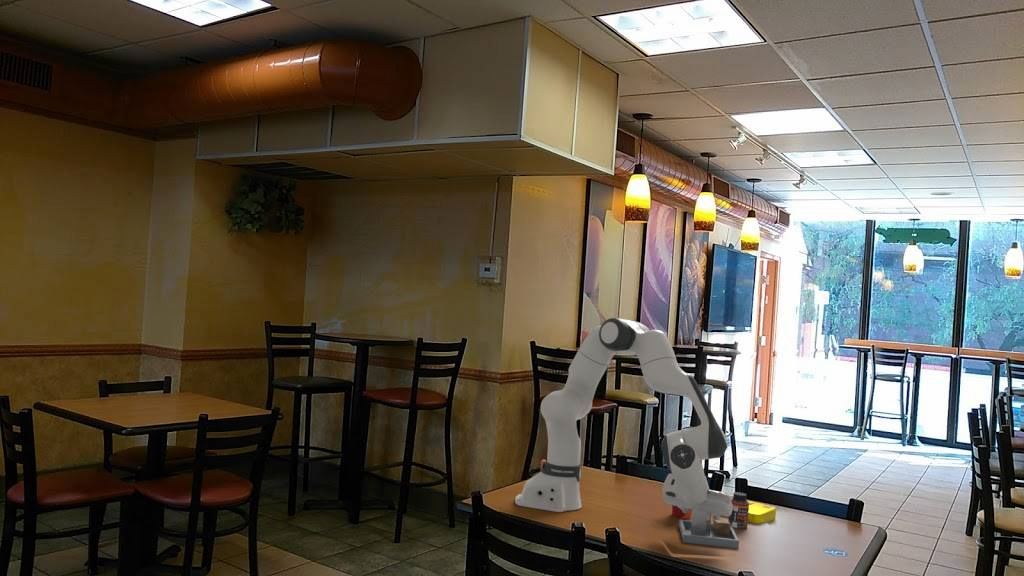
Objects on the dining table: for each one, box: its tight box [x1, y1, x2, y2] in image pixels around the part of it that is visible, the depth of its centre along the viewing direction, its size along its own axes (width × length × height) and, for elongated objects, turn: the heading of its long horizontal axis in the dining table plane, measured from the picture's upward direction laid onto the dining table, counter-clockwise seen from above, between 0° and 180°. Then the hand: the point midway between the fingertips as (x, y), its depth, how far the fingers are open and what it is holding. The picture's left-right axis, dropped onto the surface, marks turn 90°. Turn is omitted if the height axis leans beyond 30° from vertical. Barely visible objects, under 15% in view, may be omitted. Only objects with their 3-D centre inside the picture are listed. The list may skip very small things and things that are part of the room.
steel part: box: [690, 509, 712, 536], centre depth 224 cm, size 4×4×10 cm
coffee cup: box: [671, 505, 692, 520], centre depth 244 cm, size 8×8×15 cm
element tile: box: [720, 499, 777, 525], centre depth 250 cm, size 15×15×5 cm
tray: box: [678, 519, 740, 549], centre depth 222 cm, size 16×16×3 cm
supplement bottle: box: [727, 491, 749, 531], centre depth 236 cm, size 6×6×11 cm
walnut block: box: [712, 518, 731, 537], centre depth 226 cm, size 4×4×4 cm
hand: (701, 514), depth 224 cm, fingers open, 8 cm apart
